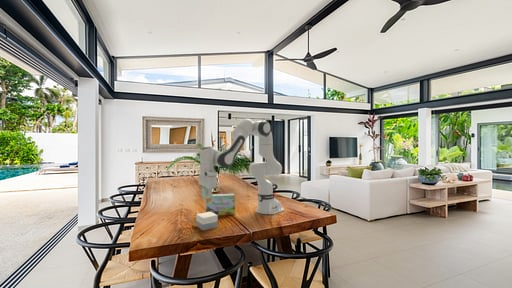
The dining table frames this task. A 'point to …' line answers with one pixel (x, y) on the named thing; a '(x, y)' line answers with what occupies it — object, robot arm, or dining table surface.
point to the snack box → (221, 204)
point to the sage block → (206, 193)
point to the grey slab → (207, 225)
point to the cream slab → (206, 218)
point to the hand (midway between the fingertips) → (206, 193)
